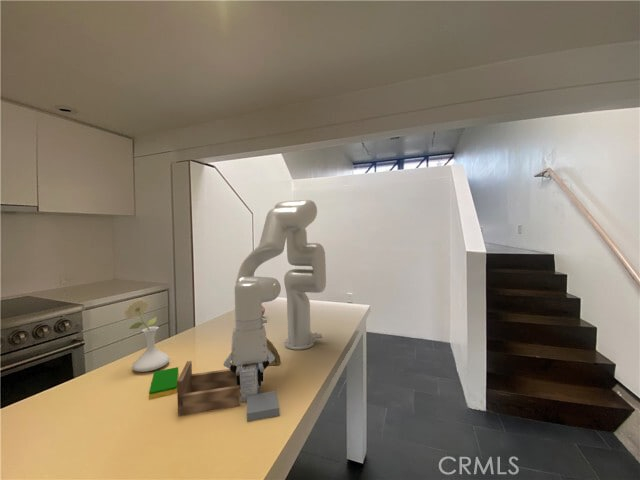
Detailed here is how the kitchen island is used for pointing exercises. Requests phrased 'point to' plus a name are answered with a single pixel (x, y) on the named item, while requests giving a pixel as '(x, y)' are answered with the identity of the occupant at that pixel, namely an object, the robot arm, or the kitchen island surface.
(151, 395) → the dish sponge
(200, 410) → the rack
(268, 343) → the rock
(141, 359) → the flower in vase
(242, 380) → the medicine box
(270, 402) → the plinth
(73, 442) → the kitchen island surface
